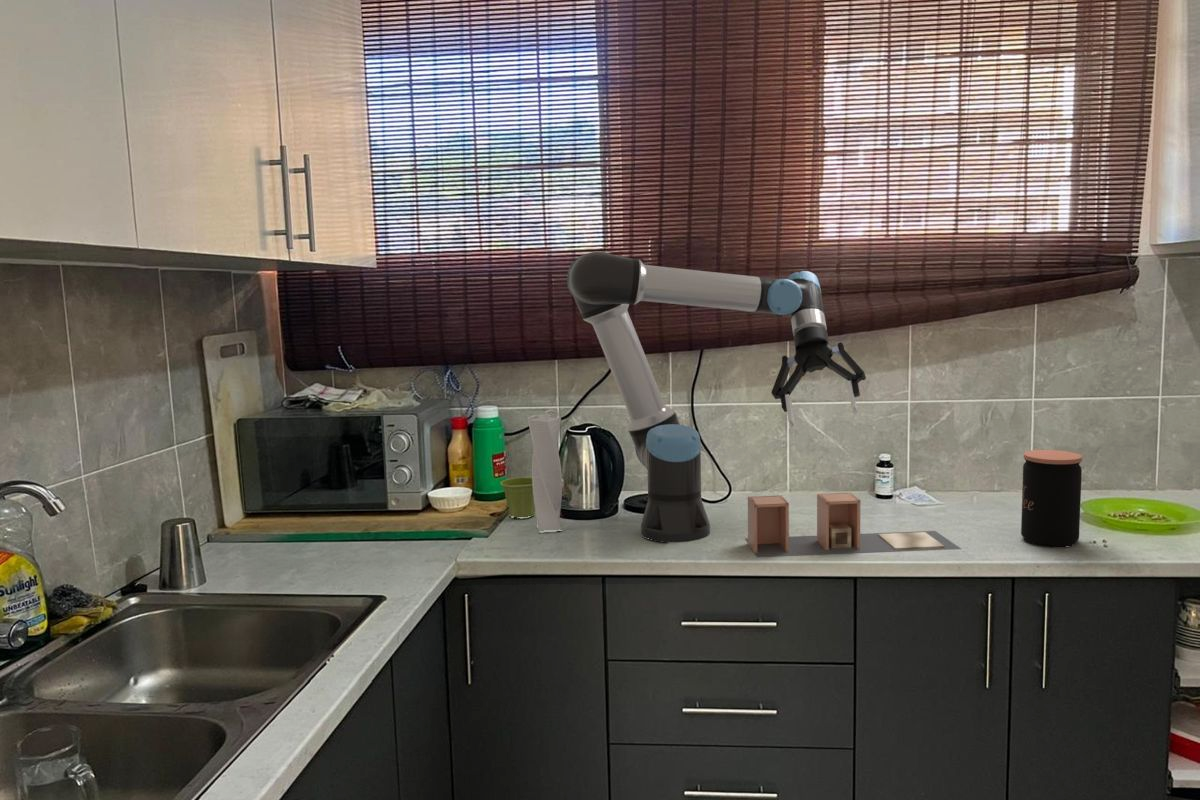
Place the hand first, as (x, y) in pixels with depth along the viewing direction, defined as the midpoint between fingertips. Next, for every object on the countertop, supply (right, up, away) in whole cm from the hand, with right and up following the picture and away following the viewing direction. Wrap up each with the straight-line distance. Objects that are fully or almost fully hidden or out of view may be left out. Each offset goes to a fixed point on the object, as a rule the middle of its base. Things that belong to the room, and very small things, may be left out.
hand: (822, 416), depth 191 cm
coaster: (+16, -26, -8) cm, 31 cm away
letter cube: (+1, -26, -8) cm, 27 cm away
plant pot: (-67, -25, +24) cm, 75 cm away
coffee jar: (+44, -25, -9) cm, 52 cm away
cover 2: (+1, -26, -8) cm, 27 cm away
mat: (+4, -26, -7) cm, 28 cm away
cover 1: (-13, -27, -8) cm, 31 cm away
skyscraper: (-59, -26, +11) cm, 66 cm away
